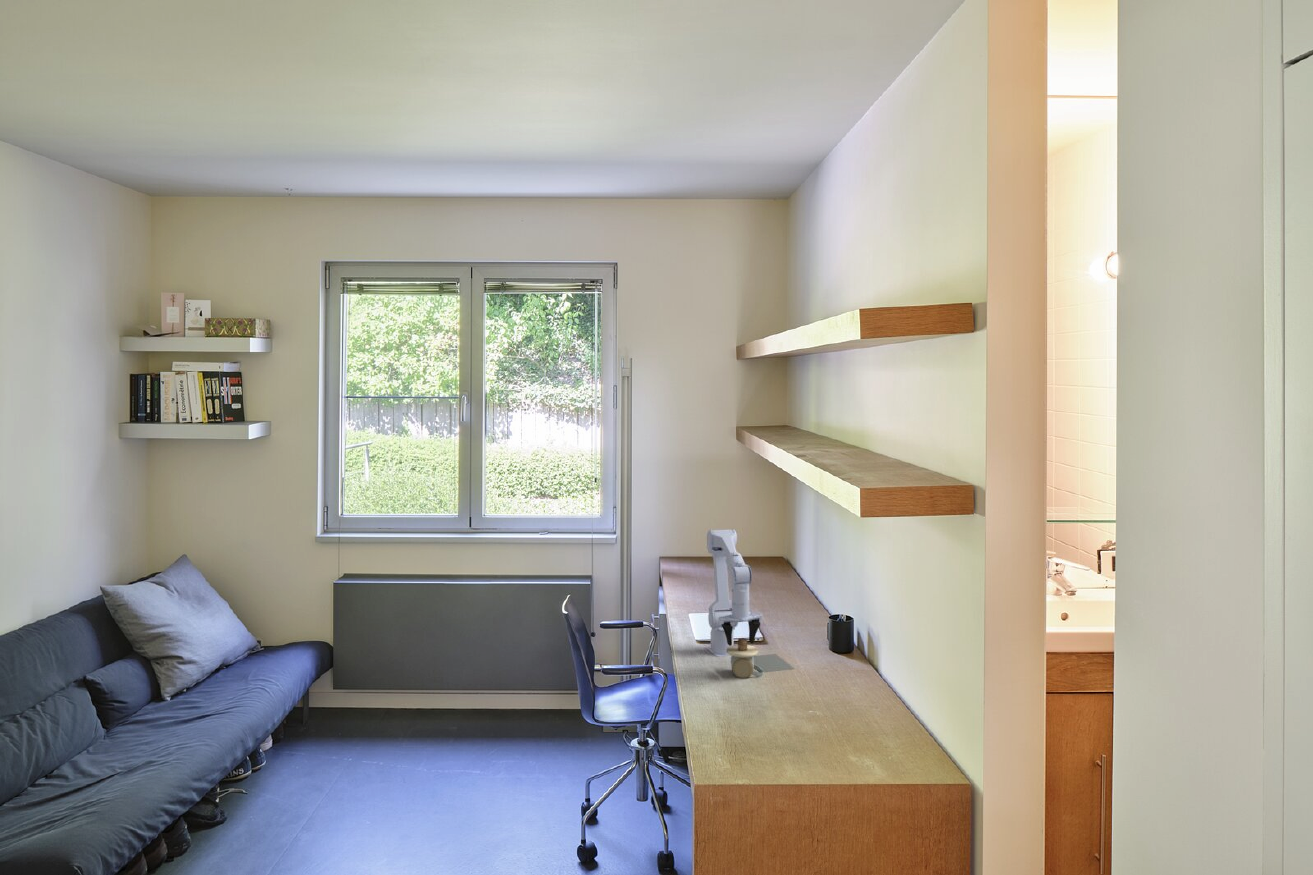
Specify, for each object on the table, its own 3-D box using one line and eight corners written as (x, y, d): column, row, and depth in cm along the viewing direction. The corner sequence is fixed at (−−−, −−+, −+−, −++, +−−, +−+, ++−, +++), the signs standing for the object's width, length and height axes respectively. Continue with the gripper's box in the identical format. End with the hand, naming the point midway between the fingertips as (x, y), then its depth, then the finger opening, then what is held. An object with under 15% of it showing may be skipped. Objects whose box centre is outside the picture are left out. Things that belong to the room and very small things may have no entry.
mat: (743, 658, 285) (743, 656, 285) (775, 654, 288) (775, 653, 288) (761, 673, 270) (761, 672, 270) (794, 670, 273) (794, 668, 273)
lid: (722, 648, 272) (722, 636, 272) (751, 645, 275) (752, 633, 274) (732, 658, 262) (732, 645, 262) (763, 655, 265) (763, 643, 264)
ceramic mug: (731, 679, 265) (732, 656, 264) (730, 670, 273) (730, 648, 272) (764, 680, 264) (765, 657, 264) (762, 671, 272) (762, 649, 272)
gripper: (723, 607, 262) (723, 649, 263) (765, 604, 266) (765, 645, 266) (716, 602, 269) (716, 642, 269) (757, 598, 272) (757, 638, 273)
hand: (740, 643), depth 268 cm, fingers open, 7 cm apart
